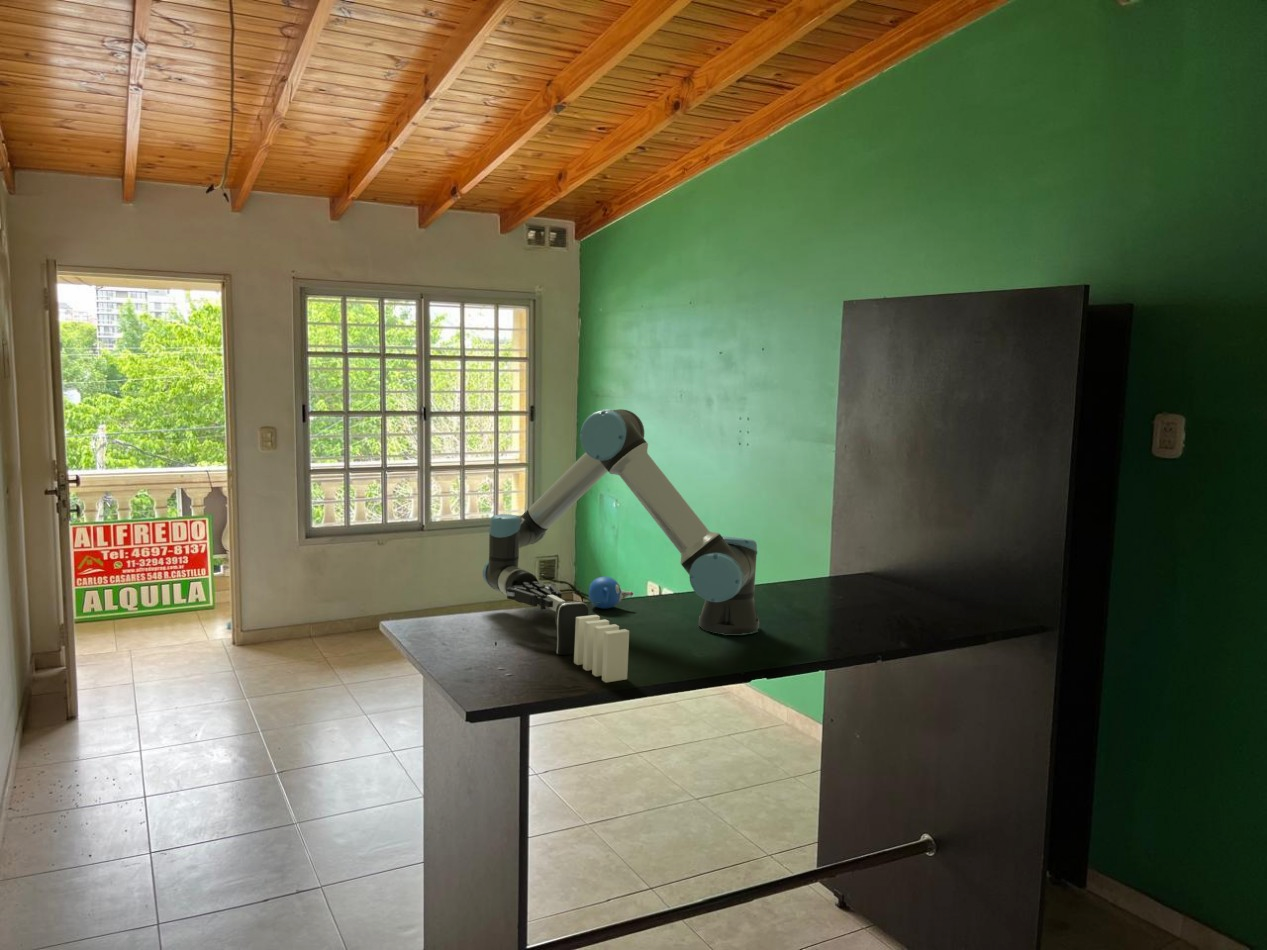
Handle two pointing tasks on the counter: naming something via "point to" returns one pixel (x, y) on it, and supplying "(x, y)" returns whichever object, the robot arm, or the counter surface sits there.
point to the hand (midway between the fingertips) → (562, 607)
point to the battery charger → (568, 625)
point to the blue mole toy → (606, 592)
